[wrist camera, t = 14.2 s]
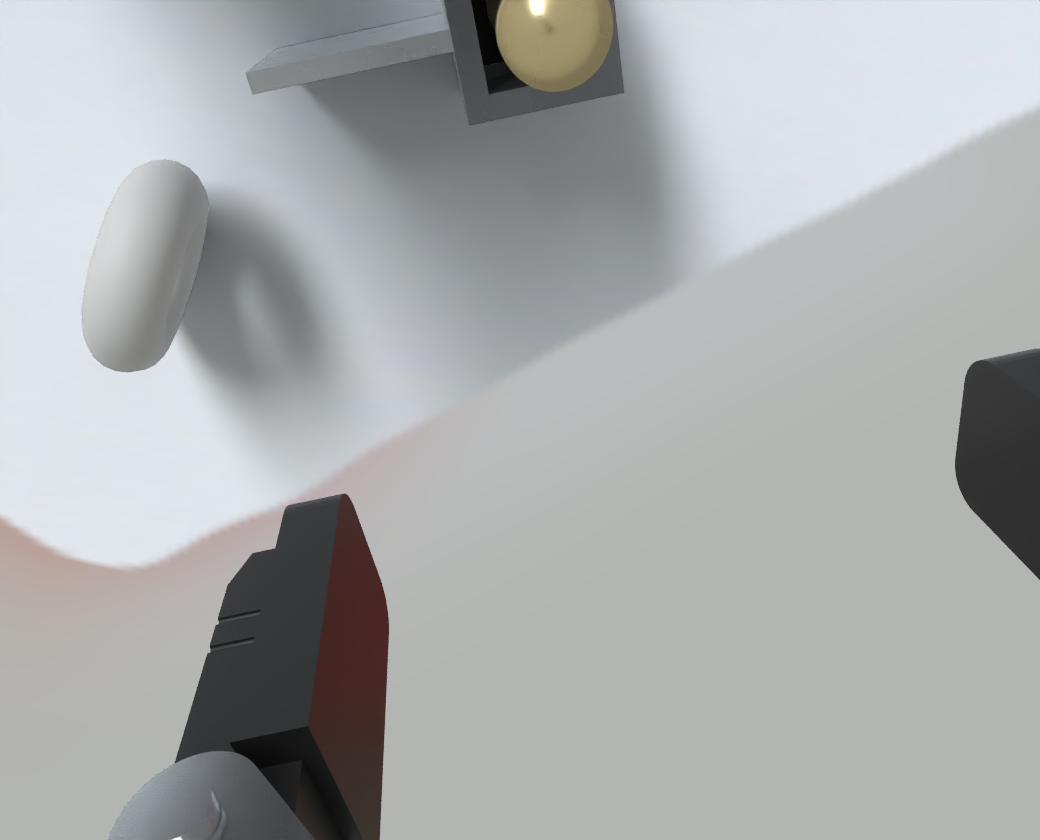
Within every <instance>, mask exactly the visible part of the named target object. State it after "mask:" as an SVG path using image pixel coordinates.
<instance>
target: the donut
mask: <svg viewBox="0 0 1040 840" xmlns="http://www.w3.org/2000/svg"><path fill="white" fill-rule="evenodd" d="M208 215H209V202H208V197H207V193H206V190H205V188H204V186H203V185H202V183H201V181H200V179H199V178H198V176H197V175H196V174H195V173H194V172H193V171H192V170H191V169H190V168H188V167H186V166H185V165H183V164H181V163H179V162H176V161H171V160H166V159H164V160H155V161H151V162H148V163H146V164H143V165H141V166H139V167H137V168H135V169H134V170H133V171H132V172H131V173H130V174H129V175H128V176H127V178H126V179H125V180H124V181H123V183H122V184H121V185H120V187H119V188H118V190H117V192H116V193H115V195H114V197H113V199H112V201H111V203H110V205H109V207H108V210H107V212H106V215H105V217H104V220H103V223H102V225H101V228H100V230H99V233H98V236H97V240H96V243H95V246H94V250H93V253H92V256H91V260H90V264H89V269H88V273H87V278H86V283H85V287H84V295H83V304H82V329H83V335H84V339H85V341H86V344H87V346H88V348H89V350H90V352H91V353H92V355H93V357H94V358H95V359H96V360H97V361H99V362H100V363H101V364H102V365H103V366H105V367H108V368H110V369H112V370H114V371H121V372H133V371H140V370H145V369H147V368H149V367H151V366H153V365H155V364H156V363H157V362H158V361H159V360H160V359H161V358H162V357H163V356H164V355H165V353H166V352H167V351H168V349H169V347H170V345H171V343H172V341H173V339H174V337H175V334H176V332H177V330H178V327H179V325H180V322H181V320H182V317H183V315H184V312H185V309H186V306H187V303H188V300H189V297H190V294H191V291H192V288H193V284H194V281H195V278H196V274H197V270H198V266H199V263H200V259H201V255H202V250H203V245H204V240H205V235H206V228H207V222H208Z"/></svg>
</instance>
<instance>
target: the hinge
mask: <svg viewBox="0 0 1040 840" xmlns="http://www.w3.org/2000/svg"><path fill="white" fill-rule="evenodd" d="M609 3H610V7H611V10H612V16H613V35H612V40H611V44H610V48H609V51H608V53H607V55H606V58H605V59H604V61H603V63H602V65H601V66H600V67H599V69H598V70H597V71H596V72H595V73H594V74H593V75H592V76H591V77H590V78H589V79H588V80H587V81H585V82H584V83H582V84H580V85H579V86H577V87H574V88H572V89H569V90H565V91H559V92H548V91H542V90H538V89H535V88H533V87H531V86H529V85H527V84H526V83H524V82H522V81H521V80H520V79H519V78H518V77H517V76H516V75H515V74H514V73H513V72H512V71H511V70H510V68H509V67H508V65H507V64H506V62H500V63H495V64H491V65H486V66H483V62H482V56H481V51H480V46H479V41H478V35H477V30H476V25H475V19H474V14H473V9H472V4H471V0H442V4H443V9H444V13H441V14H437V15H432V16H427V17H422V18H418V19H413V20H408V21H404V22H399V23H394V24H390V25H385V26H380V27H376V28H371V29H366V30H362V31H357V32H352V33H347V34H343V35H338V36H333V37H329V38H324V39H319V40H315V41H310V42H305V43H301V44H296V45H291V46H287V47H282V48H277V49H276V50H274V51H273V52H272V53H270V54H269V55H268V56H267V57H265V58H264V59H263V60H261V61H260V62H259V63H257V64H256V65H255V66H253V67H252V68H251V69H250V70H248V71H247V72H246V76H247V79H248V82H249V85H250V88H251V91H252V94H257V93H262V92H266V91H271V90H276V89H281V88H285V87H290V86H295V85H299V84H304V83H309V82H313V81H318V80H323V79H327V78H332V77H337V76H341V75H346V74H351V73H356V72H360V71H365V70H370V69H374V68H379V67H384V66H388V65H393V64H398V63H402V62H407V61H412V60H416V59H421V58H426V57H431V56H435V55H440V54H445V53H449V52H453V57H454V62H455V67H456V71H457V76H458V81H459V86H460V91H461V95H462V99H463V103H464V106H465V110H466V114H467V118H468V121H469V125H474V124H478V123H483V122H488V121H492V120H497V119H502V118H506V117H511V116H516V115H521V114H525V113H530V112H535V111H539V110H544V109H549V108H553V107H558V106H563V105H567V104H572V103H577V102H582V101H586V100H591V99H596V98H600V97H605V96H610V95H614V94H619V93H624V88H623V79H622V70H621V61H620V51H619V42H618V33H617V24H616V14H615V5H614V0H609Z"/></svg>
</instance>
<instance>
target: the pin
mask: <svg viewBox="0 0 1040 840" xmlns="http://www.w3.org/2000/svg"><path fill="white" fill-rule="evenodd" d="M487 14H488V17H489V20H490V22H491V24H492V26H493V27H494V29H495V33H496V40H497V44H498V48H499V50H500V53H501V55H502V57H503V59H504V61H505V62H506V64H507V65H508V67H509V68H510V70H511V71H512V72H513V73H514V74H515V75H516V76H517V77H518V78H519V79H520V80H521V81H522V82H524V83H526V84H527V85H529V86H531V87H533V88H535V89H538V90H542V91H548V92H559V91H565V90H569V89H572V88H574V87H577V86H579V85H580V84H582V83H584V82H585V81H587V80H588V79H589V78H590V77H591V76H592V75H593V74H594V73H595V72H596V71H597V70H598V69H599V67H600V66H601V65H602V63H603V61H604V59H605V58H606V55H607V53H608V51H609V48H610V44H611V40H612V35H613V16H612V10H611V7H610V3H609V0H487Z"/></svg>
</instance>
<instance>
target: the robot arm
mask: <svg viewBox="0 0 1040 840" xmlns="http://www.w3.org/2000/svg"><path fill="white" fill-rule="evenodd" d="M955 471H956V477H957V481H958V485H959V488H960V491H961V493H962V495H963V497H964V499H965V501H966V502H967V504H968V505H969V507H970V508H971V509H972V510H973V511H974V512H975V513H976V514H977V515H978V516H979V517H980V519H981V520H982V521H983V522H984V523H985V524H986V525H987V526H988V527H989V528H990V529H991V530H992V531H993V532H994V533H995V534H996V535H997V536H998V537H999V538H1000V539H1001V540H1002V541H1003V542H1004V543H1005V544H1006V545H1007V546H1008V547H1009V549H1010V550H1012V552H1013V553H1014V554H1015V555H1016V556H1017V557H1018V558H1019V559H1020V560H1021V561H1022V562H1023V563H1024V564H1025V565H1026V566H1027V567H1028V568H1029V569H1030V570H1031V571H1032V572H1033V573H1034V574H1035V575H1036V576H1037V577H1038V579H1039V580H1040V349H1032V350H1027V351H1022V352H1017V353H1013V354H1008V355H1004V356H999V357H994V358H990V359H984V360H980V361H976V362H974V363H973V364H972V365H971V366H970V367H969V369H968V371H967V374H966V378H965V383H964V391H963V401H962V408H961V417H960V425H959V434H958V442H957V451H956V458H955ZM218 620H219V625H216V626H215V630H214V633H213V637H212V640H211V643H210V649H211V652H210V653H208V654H207V657H206V660H205V663H204V667H203V670H202V673H201V677H200V680H199V684H198V687H197V690H196V694H195V697H194V701H193V704H192V707H191V711H190V714H189V717H188V721H187V724H186V727H185V731H184V734H183V737H182V741H181V744H180V747H179V751H178V754H177V757H176V761H175V764H173V765H171V766H169V767H168V768H166V769H165V770H163V771H162V772H160V773H159V774H157V775H156V776H155V777H153V778H152V779H151V780H150V781H149V782H147V783H146V784H145V785H144V786H143V787H142V788H141V789H140V790H139V791H138V792H137V793H136V794H135V795H134V796H133V797H132V799H131V800H130V801H129V802H128V803H127V805H126V806H125V807H124V809H123V810H122V812H121V813H120V815H119V817H118V818H117V820H116V822H115V824H114V826H113V828H112V830H111V832H110V835H109V839H108V840H380V819H381V797H382V796H381V795H382V774H383V752H384V729H385V706H386V684H387V663H388V639H389V620H388V611H387V604H386V598H385V594H384V590H383V586H382V583H381V580H380V577H379V574H378V571H377V569H376V566H375V563H374V561H373V558H372V555H371V552H370V549H369V547H368V544H367V541H366V539H365V536H364V533H363V530H362V527H361V525H360V522H359V519H358V516H357V514H356V511H355V508H354V506H353V503H352V501H351V500H350V498H349V496H348V495H347V494H340V495H335V496H331V497H326V498H321V499H316V500H312V501H307V502H302V503H297V504H292V505H288V506H287V507H286V509H285V511H284V515H283V518H282V523H281V527H280V531H279V535H278V539H277V544H276V548H275V549H271V550H266V551H261V552H256V553H253V554H252V555H251V556H250V557H249V559H248V560H247V561H246V562H245V564H244V565H243V566H242V568H241V569H240V570H239V571H238V573H237V574H236V575H235V577H234V578H233V579H232V580H231V582H230V583H229V584H228V586H227V590H226V593H225V596H224V600H223V603H222V606H221V610H220V613H219V616H218Z"/></svg>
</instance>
